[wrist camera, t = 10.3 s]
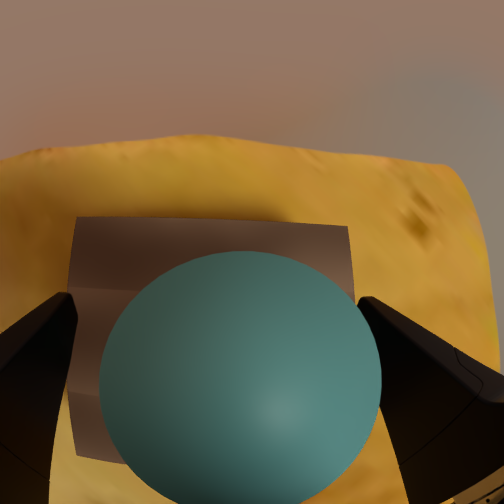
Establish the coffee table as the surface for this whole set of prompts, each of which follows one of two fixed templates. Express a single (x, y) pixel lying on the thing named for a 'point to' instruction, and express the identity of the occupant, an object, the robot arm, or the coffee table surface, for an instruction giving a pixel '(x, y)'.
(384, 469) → the coffee table surface
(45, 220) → the coffee table surface
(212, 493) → the peg
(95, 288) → the hole block
